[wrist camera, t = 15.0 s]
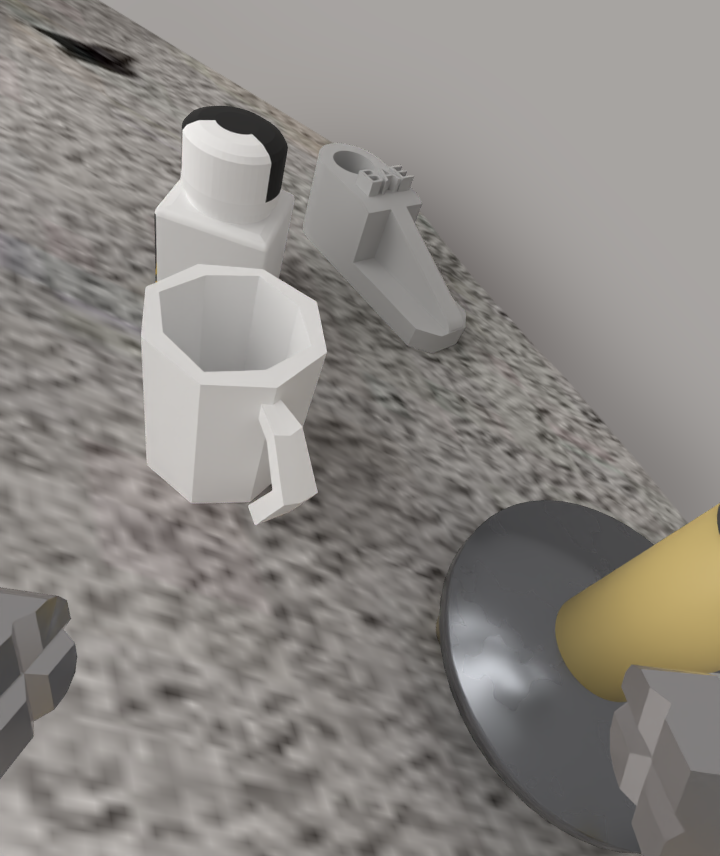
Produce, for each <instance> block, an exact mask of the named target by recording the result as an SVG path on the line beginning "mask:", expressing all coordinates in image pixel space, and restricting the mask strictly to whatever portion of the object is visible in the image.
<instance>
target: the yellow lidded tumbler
mask: <svg viewBox="0 0 720 856" xmlns="http://www.w3.org/2000/svg"><path fill="white" fill-rule="evenodd" d="M555 633H556V640H557V645H558V648H559V651H560V654H561V656H562V658H563V660H564V662H565V664H566V666H567V667H568V669H569V670H570V672H571V673H572V674H573V676H574V677H575V678H576V679H577V680H578V681H579V682H580V683H581V684H582V685H583V686H584V687H585V688H586V689H588V690H589V691H590V692H592V693H593V694H595V695H597V696H598V697H601V698H603V699H605V700H609V701H613V702H626V701H627V700H626V697H625V695H624V692H623V690H622V688H621V685H622V682H623V679H624V675H625V672H626V671H627V669H628V668H629V667H630V666H631V664H632V665H641V666H650V667H659V668H667V669H676V670H685V671H694V672H703V673H713V672H716V671H719V670H720V504H718V505H716V506H715V507H714V508H712V509H710V510H708V511H707V512H705V513H704V514H702V515H701V516H699V517H697V518H696V519H694V520H693V521H691V522H690V523H688V524H686V525H685V526H683V527H682V528H680V529H679V530H677V531H675V532H674V533H672V534H671V535H669V536H668V537H666V538H665V539H663V540H661V541H660V542H658V543H657V544H655V545H654V546H652V547H650V548H649V549H647V550H646V551H644V552H643V553H641V554H639V555H638V556H636V557H635V558H633V559H632V560H630V561H628V562H627V563H625V564H624V565H622V566H621V567H619V568H617V569H616V570H614V571H613V572H611V573H610V574H608V575H607V576H605V577H603V578H602V579H600V580H599V581H597V582H596V583H594V584H592V585H591V586H589V587H588V588H586V589H585V590H583V591H581V592H580V593H578V594H577V595H575V596H574V597H572V598H570V599H569V600H568V601H566V602H565V603H564V604H563V605H562V607H561V608H560V610H559V612H558V615H557V618H556V624H555Z"/></svg>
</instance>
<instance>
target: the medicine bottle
mask: <svg viewBox="0 0 720 856" xmlns="http://www.w3.org/2000/svg"><path fill="white" fill-rule="evenodd" d="M287 149H288V147H287V143H286V141H285V139H284V137H283V135H282V134H281V132H280V131H279V130H278V129H277V128H276V127H275V126H274V125H273V124H271V123H270V122H269V121H267V120H265V119H264V118H262V117H260V116H258V115H256V114H254V113H252V112H250V111H247V110H244V109H240V108H236V107H230V106H209V107H203V108H199V109H197V110H194V111H193V112H191V113H190V114H189V115H188V116H187V117H186V118H185V119H184V121H183V123H182V149H181V179H180V180H179V181H178V182H177V183H176V185H175V186H174V187H173V188H172V190H171V191H170V192H169V193H168V195H167V196H166V197H165V198H164V199H163V201H162V202H161V203H160V204H159V206H158V207H157V208H156V210H155V264H156V282H158V281H160V280H163V279H165V278H167V277H170V276H172V275H174V274H176V273H179V272H181V271H183V270H186V269H188V268H190V267H192V266H195V265H197V264H205V265H218V266H230V267H242V268H255V269H263V270H265V271H267V272H268V273H270V274H272V275H273V276H275V277H277V278H279V276H280V272H281V267H282V262H283V257H284V252H285V246H286V241H287V236H288V231H289V226H290V221H291V216H292V211H293V206H294V201H295V200H294V195H293V194H292V193H289V192H287V191H284V190H281V185H282V179H283V173H284V168H285V162H286V156H287Z"/></svg>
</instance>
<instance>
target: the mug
mask: <svg viewBox="0 0 720 856" xmlns="http://www.w3.org/2000/svg"><path fill="white" fill-rule="evenodd" d="M141 348H142V370H143V391H144V413H145V435H146V457H147V465H148V466H149V467H150V468H151V469H152V470H153V471H154V472H156V473H157V474H158V475H159V476H160V477H161V478H162V479H164V480H165V481H166V482H167V483H168V484H169V485H171V486H172V487H173V488H174V489H175V490H176V491H177V492H179V493H180V494H181V495H182V496H183V497H184V498H185V499H187V500H188V501H189V502H190V503H191V504H200V503H240V502H251V501H252V500H253V499H254V498H255V497H256V496H258V495H259V494H260V493H261V492H262V491H263V490H265V489H266V488H267V487H268V486H269V485H270V484H271V483H272V491H270V492H269V493H267V494H266V495H264V496H263V497H261V498H259V499H258V500H256V501H255V502H253V503H251V504H250V505H248V508H249V511H250V513H251V516H252V519H253V522H254V525H258V524H260V523H263V522H265V521H268V520H270V519H273V518H275V517H278V516H280V515H283V514H286V513H288V512H291V511H292V510H294V509H295V508H297V507H298V506H299V505H301V504H302V503H304V502H305V501H307V500H308V499H309V498H311V497H312V496H314V495H315V494H316V493H318V491H317V487H316V483H315V479H314V474H313V470H312V466H311V461H310V457H309V453H308V449H307V444H306V440H305V436H304V431H303V426H304V423H305V419H306V416H307V413H308V410H309V407H310V404H311V401H312V398H313V395H314V391H315V388H316V385H317V382H318V379H319V376H320V373H321V370H322V366H323V363H324V360H325V357H326V354H327V350H326V345H325V340H324V335H323V330H322V325H321V320H320V315H319V310H318V305H317V302H316V301H315V300H313V299H311V298H310V297H308V296H306V295H305V294H303V293H301V292H300V291H298V290H296V289H295V288H293V287H291V286H290V285H288V284H287V283H285V282H283V281H282V280H280V279H278V278H277V277H275V276H273V275H272V274H270V273H268V272H267V271H265V270H263V269H255V268H242V267H230V266H218V265H205V264H197V265H195V266H192V267H190V268H188V269H186V270H183V271H181V272H179V273H176V274H174V275H172V276H170V277H167V278H165V279H163V280H160V281H158V282H156V283H154V284H151V285H149V286H147V287H146V289H145V300H144V310H143V321H142V331H141Z"/></svg>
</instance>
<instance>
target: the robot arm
mask: <svg viewBox="0 0 720 856" xmlns="http://www.w3.org/2000/svg"><path fill="white" fill-rule="evenodd" d="M70 619H71V617H70V612H69V608H68V603H67V600H65V599H63V598H61V597H59V596H55V595H48V594H42V593H35V592H28V591H21V590H14V589H7V588H0V779H1V778H2V776H3V775H4V774H5V772H6V771H7V770H8V769H9V767H10V766H11V765H12V763H13V762H14V761H15V760H16V758H17V757H18V756H19V754H20V753H21V752H22V751H23V749H24V748H25V747H26V745H27V744H28V743H29V742H30V740H31V739H32V738H33V737H34V721H35V720H37V719H39V718H41V717H42V716H44V715H46V714H48V713H49V712H51V711H53V710H54V709H55V708H56V707H57V705H58V704H59V703H60V701H61V700H62V699H63V697H64V696H65V694H66V693H67V691H68V689H69V686H70V684H71V681H72V679H73V676H74V674H75V670H76V661H77V653H76V646H75V642H74V641H73V640H72V639H71V638H70V637H69V635H68V634H67V633H66V632H65V631H64V630H63V629H64V628H65V626H66V625H67V624H68V622H69V621H70ZM621 688H622V690H623V692H624V695H625V697H626V700H627V703H625V704H624V705H622V706H621V707H620V708H618V709H617V710H616V711H614V715H613V719H612V723H611V728H610V755H611V760H612V765H613V770H614V773H615V776H616V779H617V783H618V786H619V789H620V790H621V791H622V792H623V793H624V794H625V795H626V796H627V797H628V798H629V799H630V800H631V801H632V802H633V803H634V804H635V805H636V810H635V813H634V816H633V819H632V823H631V824H632V827H633V830H634V832H635V835H636V838H637V841H638V844H639V847H640V850H641V852H642V855H643V856H720V673H703V672H694V671H685V670H676V669H667V668H659V667H650V666H641V665H632V664H631V666H630V667H629V668H628V669H627V671H626V672H625V675H624V679H623V682H622V685H621Z"/></svg>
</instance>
